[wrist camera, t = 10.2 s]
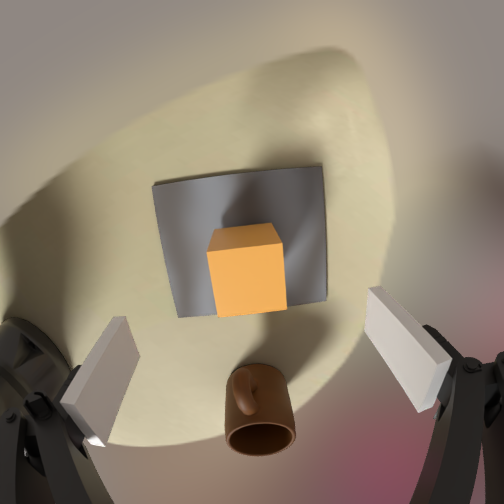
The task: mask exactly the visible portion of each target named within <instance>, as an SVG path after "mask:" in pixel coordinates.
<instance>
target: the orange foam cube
mask: <svg viewBox="0 0 504 504" xmlns="http://www.w3.org/2000/svg"><path fill="white" fill-rule="evenodd" d="M207 258H208V264H209V270H210V276H211V282H212V287H213V293H214V298H215V304H216V309H217V315H218V317H228V316H237V315H246V314H255V313H263V312H272V311H279V310H287V302H286V286H285V271H284V257H283V244H282V241H281V240H280V238H279V236H278V234H277V232H276V230H275V228H274V226H273V225H272V223H263V224H254V225H246V226H237V227H229V228H221V229H214V231H213V234H212V237H211V240H210V243H209V246H208V249H207Z"/></svg>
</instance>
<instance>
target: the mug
mask: <svg viewBox="0 0 504 504" xmlns="http://www.w3.org/2000/svg"><path fill="white" fill-rule="evenodd" d="M225 435H226V442H227V445H228V446H229V447H230V448H231V449H232V450H233V451H235V452H237V453H240V454H243V455H248V456H267V455H272V454H276V453H279V452H281V451H283V450H285V449H287V448H288V447H290V446H291V445H292V444H293V442H294V441H295V438H296V431H295V421H294V416H293V411H292V406H291V402H290V397H289V393H288V388H287V384H286V380H285V378H284V376H283V375H282V373H281V372H280V371H279V370H277V369H276V368H274V367H272V366H269V365H265V364H251V365H246V366H243V367H241V368H239V369H237V370H236V371H235V372H233V373H232V374H231V376H230V377H229V379H228V381H227V385H226V402H225Z"/></svg>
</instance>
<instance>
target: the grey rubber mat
mask: <svg viewBox="0 0 504 504" xmlns="http://www.w3.org/2000/svg"><path fill="white" fill-rule="evenodd" d="M152 192H153V199H154V205H155V211H156V217H157V223H158V228H159V233H160V239H161V244H162V249H163V254H164V259H165V263H166V268H167V273H168V277H169V282H170V286H171V290H172V294H173V299H174V303H175V307H176V311H177V315H178V318H182V317H194V316H206V315H217V309H216V304H215V298H214V293H213V287H212V282H211V276H210V270H209V264H208V258H207V249H208V246H209V243H210V240H211V237H212V234H213V231H214V229H221V228H229V227H237V226H246V225H254V224H263V223H272V225H273V226H274V228H275V230H276V232H277V234H278V236H279V238H280V240H281V241H282V244H283V257H284V271H285V286H286V302H287V306H294V305H301V304H308V303H315V302H322V301H326V236H325V212H324V194H323V179H322V167H321V166H319V167H303V168H289V169H277V170H266V171H256V172H247V173H238V174H229V175H221V176H214V177H206V178H199V179H193V180H186V181H180V182H173V183H167V184H162V185H156V186H152Z"/></svg>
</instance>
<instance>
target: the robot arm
mask: <svg viewBox="0 0 504 504" xmlns="http://www.w3.org/2000/svg"><path fill="white" fill-rule="evenodd" d="M364 331H365V332H366V334H367V335H368V337H369V338H370V340H371V341H372V342H373V344H374V346H375V347H376V348H377V350H378V351H379V353H380V354H381V356H382V357H383V359H384V360H385V362H386V363H387V365H388V366H389V368H390V369H391V371H392V372H393V374H394V375H395V377H396V378H397V380H398V382H399V383H400V385H401V386H402V388H403V389H404V391H405V392H406V394H407V395H408V397H409V399H410V400H411V402H412V403H413V405H414V407H415V408H416V410H417V411H418V412H421V411H424V410H426V409H428V408H431V407H433V405H434V402H435V400H436V398H438V399H439V401H440V402H441V404H440V406H439V408H438V410H437V412H436V414H435V416H434V418H433V419H436V422H435V426H434V430H433V435H432V439H431V442H430V446H429V449H428V453H427V456H426V459H425V463H424V466H423V469H422V472H421V475H420V477H419V480H418V483H417V486H416V488H415V491H414V493H413V496H412V498H411V501H410V503H409V504H470V500H471V496H472V492H473V488H474V483H475V479H476V474H477V469H478V463H479V456H480V450H481V442H482V446H483V457H484V469H485V493H486V494H485V498H486V499H485V502H486V503H485V504H504V351H503V352H500V353H499V354H498V355H497V357H496V359H495V362H492V363H486V364H482V363H481V362H480V361H479V360H477V359H475V358H472V357H465V358H464V357H463V356H462V355H461V354H460V353H459V352H458V351H457V350H456V349H455V348H454V347H453V346H452V345H451V344H450V343H449V342H448V341H447V340H446V339H445V338H444V337H443V336H442V335H441V334H440V333H439V332H438V331H437V330H436V329H434V328H432V327H431V326H429V325H424V326H421V325H420V324H419V323H418V322H417V321H416V320H415V319H414V318H413V317H412V316H411V315H410V314H409V313H408V312H407V311H406V310H405V309H404V308H403V307H402V306H401V305H400V304H399V303H398V302H397V301H396V300H395V299H394V298H393V297H392V296H391V295H390V294H389V293H388V292H386V290H385V289H383V288H382V287H381V286H377V287H371V288H368V298H367V310H366V320H365V329H364ZM139 358H140V355H139V352H138V349H137V347H136V344H135V341H134V339H133V336H132V333H131V330H130V328H129V325H128V322H127V319H126V316H119V317H113V318H112V320H111V321H110V323H109V324H108V326H107V327H106V329H105V330H104V332H103V333H102V335H101V336H100V338H99V339H98V341H97V342H96V344H95V345H94V347H93V348H92V350H91V351H90V353H89V355H88V356H87V358H86V359H85V361H84V362H83V364H82V365H78V366H77V367H75V368H74V369H73V370H72V371H71V372H70V369H69V367H68V365H67V363H66V361H65V359H64V357H63V356H62V354H61V353H60V351H59V350H58V349H57V347H56V346H55V345H54V344H53V343H52V341H51V340H50V339H49V338H48V337H47V336H46V335H45V334H44V333H43V332H41V331H40V330H39V329H38V328H36V327H35V326H34V325H32V324H31V323H29V322H27V321H25V320H23V319H20V318H9V319H7V320H6V321H5V322H3V323H2V324H1V325H0V504H114V502H113V500H112V499H111V498H110V495H109V493H108V492H107V490H106V488H105V486H104V484H103V482H102V480H101V478H100V476H99V474H98V472H97V470H96V469H95V466H94V464H93V462H92V460H91V457H90V455H89V453H88V451H87V448H86V446H85V445H84V444H83V439H84V437H86V439H87V440H88V441H89V442H90V443H91V444H93V445H98V446H103V447H106V444H107V441H108V438H109V435H110V433H111V430H112V427H113V424H114V422H115V419H116V416H117V413H118V411H119V408H120V406H121V403H122V400H123V398H124V395H125V393H126V390H127V388H128V385H129V383H130V380H131V378H132V375H133V373H134V370H135V368H136V365H137V363H138V361H139ZM24 450H25V451H26V456H25V455H24Z"/></svg>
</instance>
